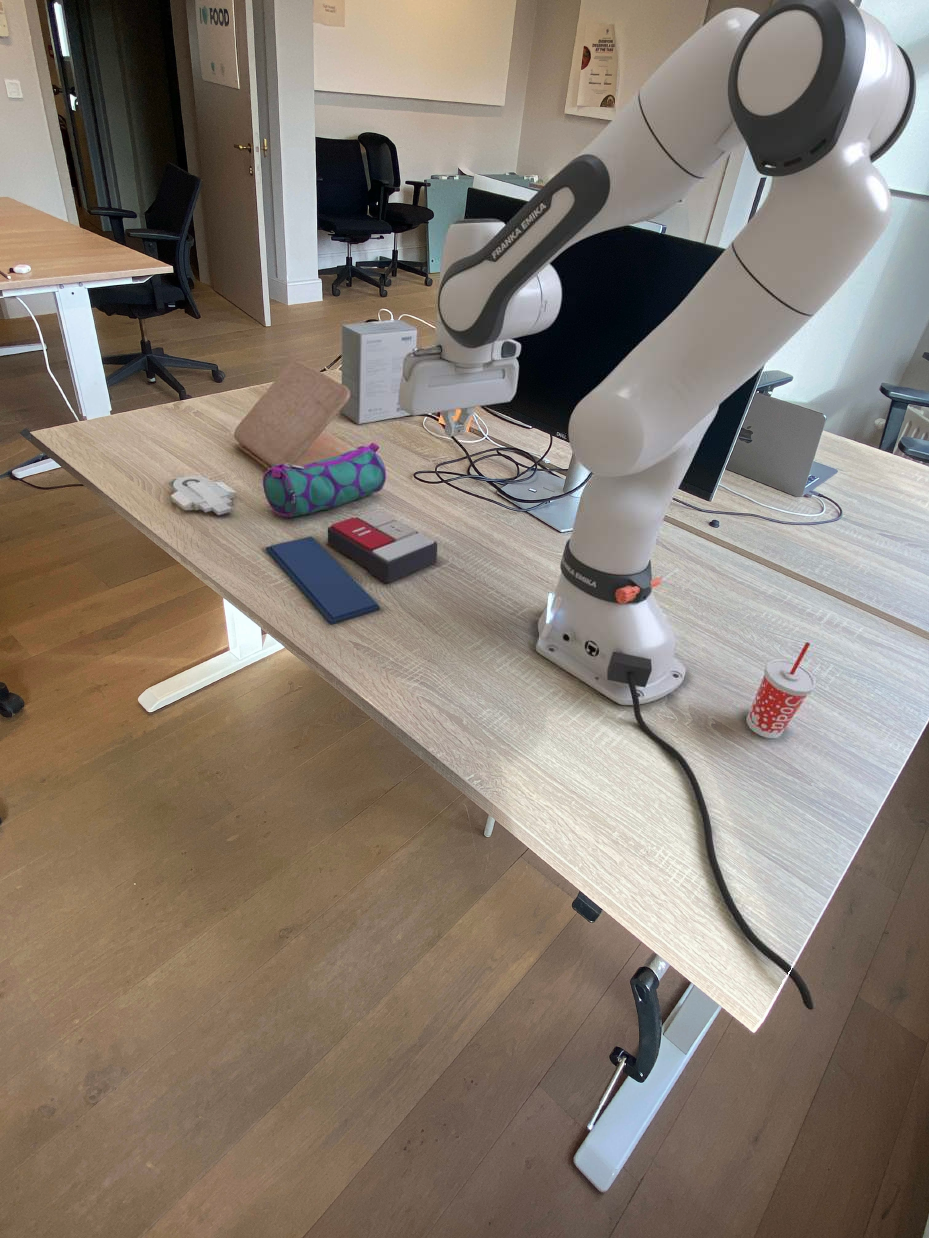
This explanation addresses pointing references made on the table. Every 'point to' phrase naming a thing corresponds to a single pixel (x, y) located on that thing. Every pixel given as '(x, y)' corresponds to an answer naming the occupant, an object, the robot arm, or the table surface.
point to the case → (295, 419)
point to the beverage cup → (780, 695)
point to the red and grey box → (383, 545)
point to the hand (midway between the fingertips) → (454, 434)
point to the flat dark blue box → (322, 580)
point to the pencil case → (324, 482)
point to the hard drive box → (375, 368)
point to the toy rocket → (202, 494)
